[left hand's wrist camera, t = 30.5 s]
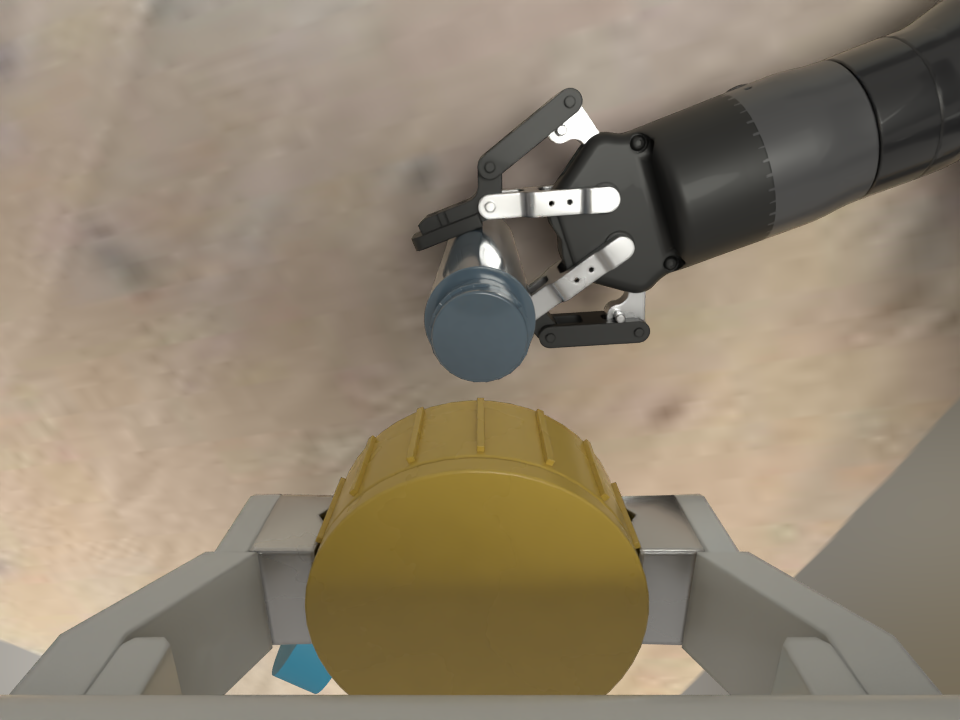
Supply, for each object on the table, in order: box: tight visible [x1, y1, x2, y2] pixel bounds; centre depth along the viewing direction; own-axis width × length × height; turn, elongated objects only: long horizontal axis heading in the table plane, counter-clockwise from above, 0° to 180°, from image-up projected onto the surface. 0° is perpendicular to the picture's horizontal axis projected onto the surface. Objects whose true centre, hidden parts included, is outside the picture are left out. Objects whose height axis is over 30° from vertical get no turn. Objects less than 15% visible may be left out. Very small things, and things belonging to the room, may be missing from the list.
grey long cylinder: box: [424, 219, 536, 382], centre depth 29 cm, size 4×4×19 cm
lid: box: [305, 398, 649, 695], centre depth 10 cm, size 5×5×2 cm
